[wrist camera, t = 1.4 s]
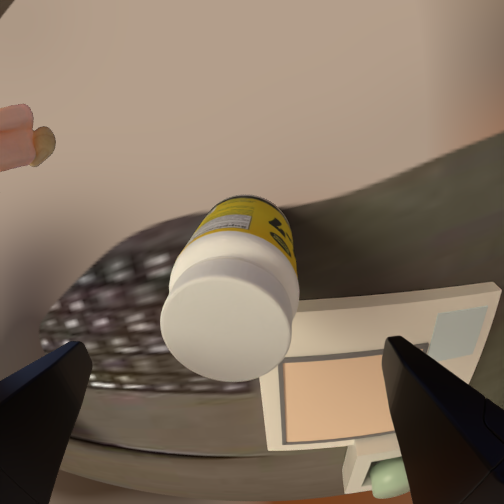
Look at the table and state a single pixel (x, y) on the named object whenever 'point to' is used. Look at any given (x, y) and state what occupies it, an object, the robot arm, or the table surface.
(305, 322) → the colouring board
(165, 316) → the supplement bottle
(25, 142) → the grandmother figurine
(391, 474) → the button
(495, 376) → the table surface
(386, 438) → the button box
